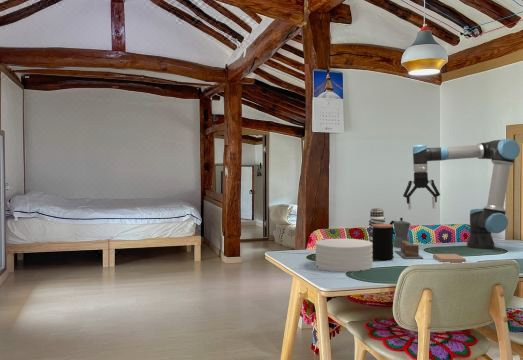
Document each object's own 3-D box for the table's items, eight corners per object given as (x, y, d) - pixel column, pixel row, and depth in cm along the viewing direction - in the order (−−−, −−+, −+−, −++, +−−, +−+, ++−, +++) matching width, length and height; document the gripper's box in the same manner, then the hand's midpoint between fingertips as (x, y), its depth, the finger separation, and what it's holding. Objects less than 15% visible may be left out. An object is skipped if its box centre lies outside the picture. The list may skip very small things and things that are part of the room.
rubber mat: (412, 251, 268) (412, 250, 268) (423, 259, 246) (423, 257, 246) (394, 251, 269) (394, 250, 269) (404, 259, 247) (404, 257, 247)
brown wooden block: (397, 251, 268) (397, 240, 268) (410, 251, 267) (410, 240, 267) (405, 256, 250) (405, 245, 250) (418, 256, 250) (418, 245, 250)
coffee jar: (391, 256, 253) (391, 223, 253) (394, 260, 243) (394, 226, 242) (371, 256, 255) (371, 223, 254) (374, 260, 244) (373, 226, 244)
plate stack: (333, 258, 253) (333, 237, 253) (382, 264, 235) (382, 241, 235) (304, 266, 231) (304, 243, 231) (355, 274, 213) (355, 249, 213)
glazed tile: (455, 253, 249) (465, 258, 235) (455, 258, 249) (465, 264, 235) (432, 253, 250) (441, 258, 236) (432, 258, 250) (441, 263, 236)
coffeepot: (415, 247, 282) (415, 218, 281) (405, 249, 277) (405, 219, 276) (395, 244, 295) (395, 216, 294) (385, 246, 289) (384, 217, 289)
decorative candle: (388, 252, 267) (388, 208, 266) (375, 253, 264) (374, 209, 263) (379, 249, 276) (378, 207, 275) (365, 251, 272) (365, 208, 272)
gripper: (400, 172, 264) (401, 210, 264) (445, 170, 263) (446, 208, 263) (396, 172, 271) (398, 209, 272) (440, 170, 270) (441, 207, 271)
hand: (422, 208), depth 267 cm, fingers open, 13 cm apart
